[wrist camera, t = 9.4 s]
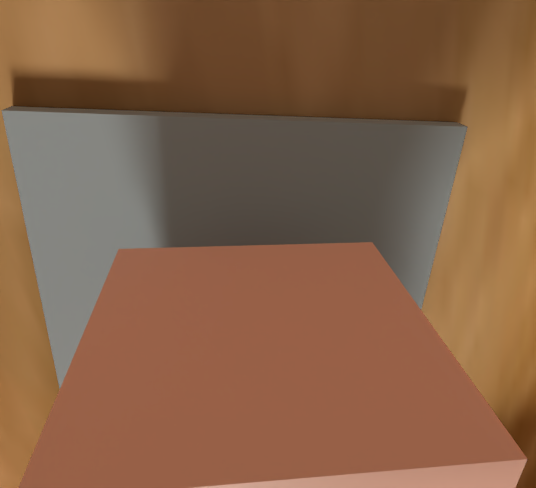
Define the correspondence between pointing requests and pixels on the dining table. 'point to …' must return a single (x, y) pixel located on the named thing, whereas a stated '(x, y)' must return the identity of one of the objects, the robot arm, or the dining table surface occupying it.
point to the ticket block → (266, 380)
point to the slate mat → (219, 192)
